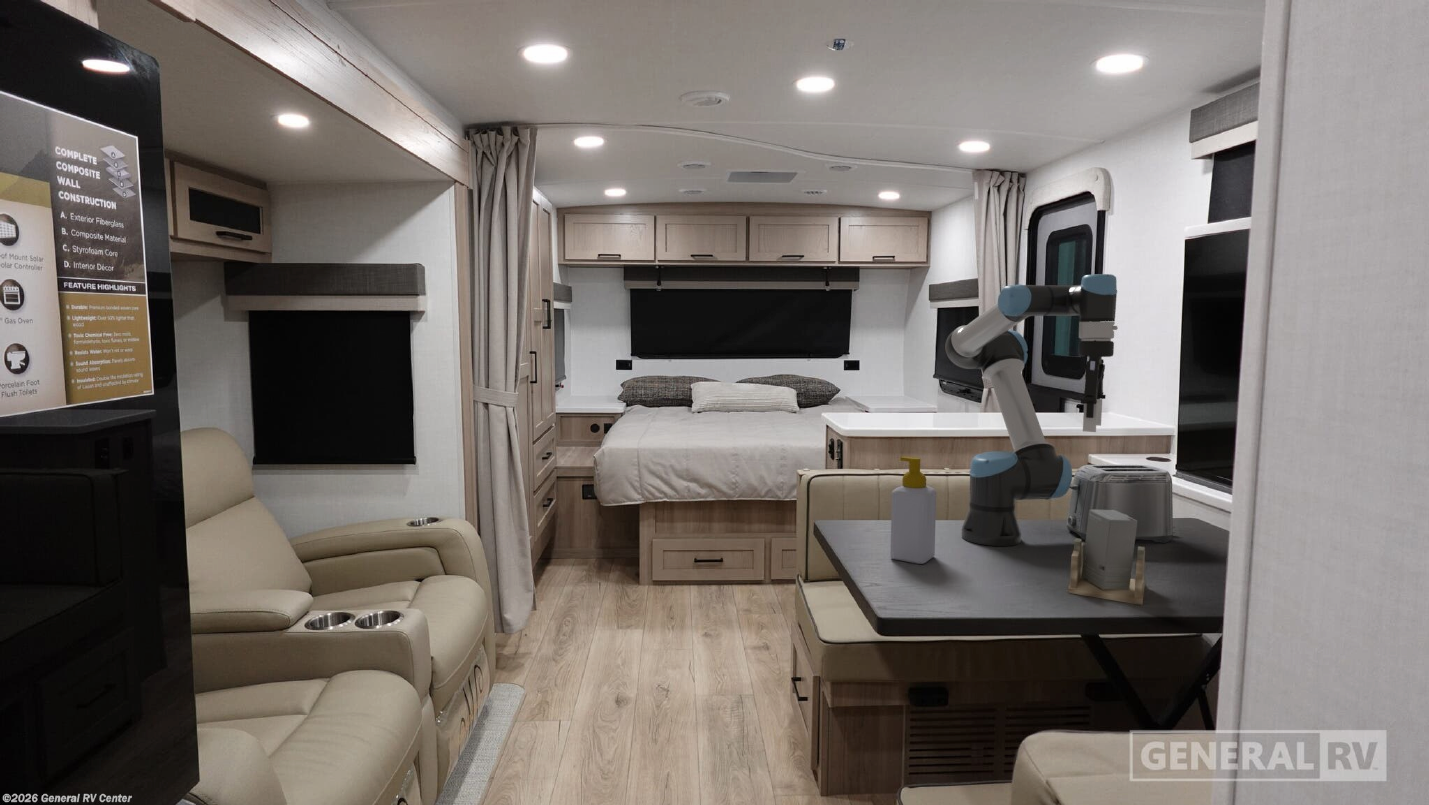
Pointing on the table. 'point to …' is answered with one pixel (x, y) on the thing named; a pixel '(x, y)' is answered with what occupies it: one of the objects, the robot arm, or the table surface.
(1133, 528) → the skincare box
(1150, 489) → the toaster
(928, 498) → the soap bottle
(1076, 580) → the holder
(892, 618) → the table surface
